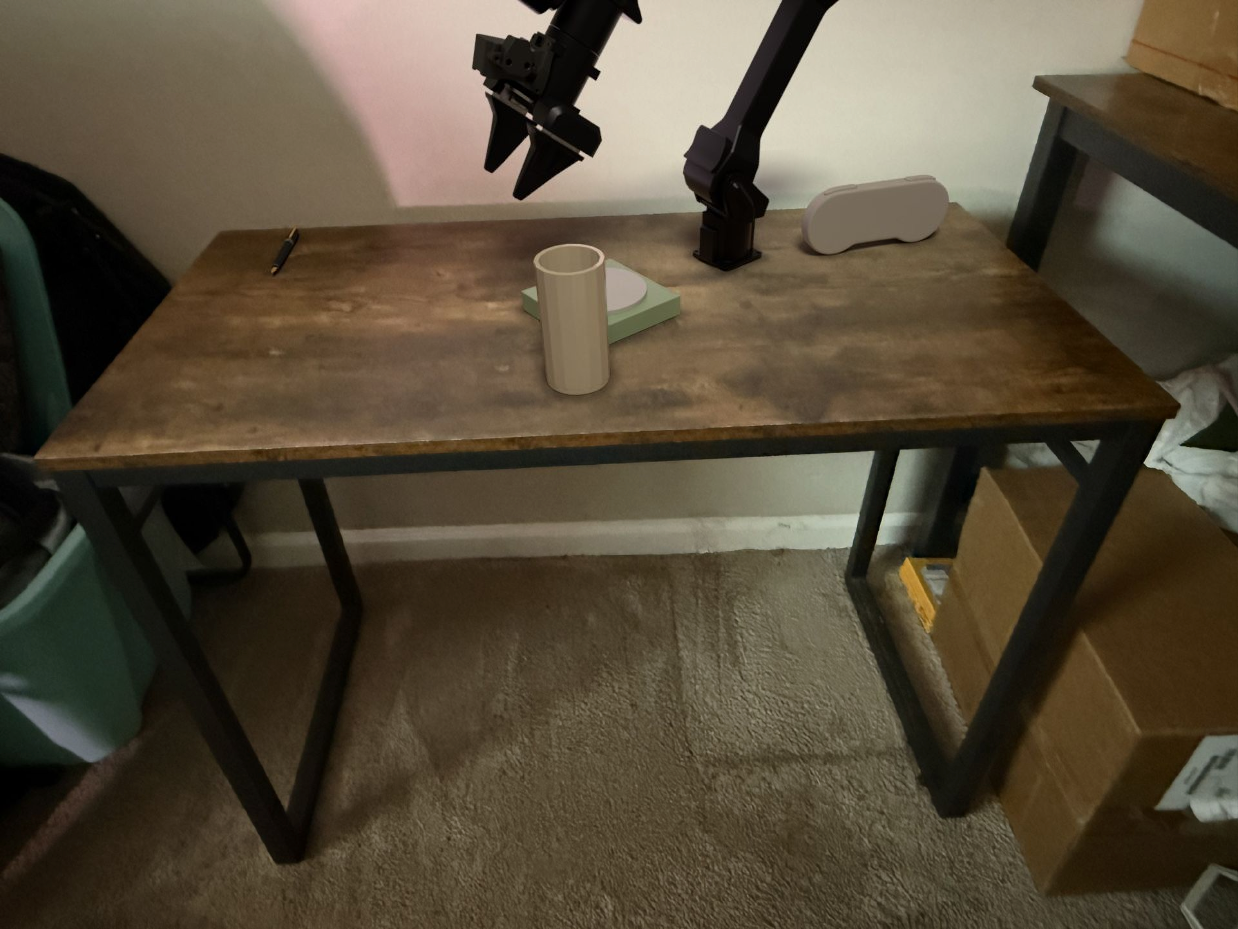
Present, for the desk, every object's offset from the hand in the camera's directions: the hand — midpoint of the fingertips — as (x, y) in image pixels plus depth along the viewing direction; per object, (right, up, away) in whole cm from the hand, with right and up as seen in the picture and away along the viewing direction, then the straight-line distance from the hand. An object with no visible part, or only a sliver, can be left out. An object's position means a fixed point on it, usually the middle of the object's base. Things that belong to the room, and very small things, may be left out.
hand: (501, 184), depth 85 cm
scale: (+10, -12, +8) cm, 18 cm away
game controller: (+45, -1, +20) cm, 49 cm away
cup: (+8, -21, -2) cm, 22 cm away
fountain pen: (-32, -2, +23) cm, 40 cm away
